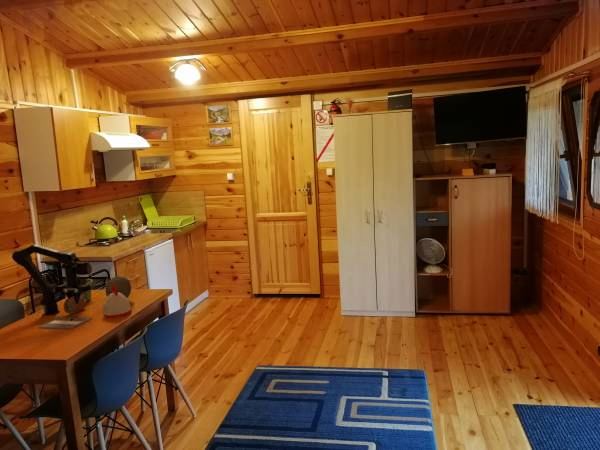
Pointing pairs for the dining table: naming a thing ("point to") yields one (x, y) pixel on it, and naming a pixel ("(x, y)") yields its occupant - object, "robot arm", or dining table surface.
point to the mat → (65, 323)
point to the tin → (75, 304)
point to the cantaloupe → (119, 286)
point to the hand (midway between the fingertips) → (75, 303)
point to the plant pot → (88, 293)
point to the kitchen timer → (116, 305)
